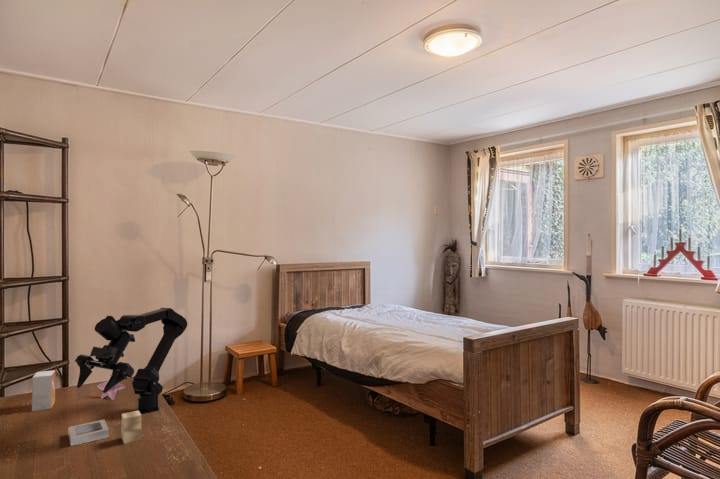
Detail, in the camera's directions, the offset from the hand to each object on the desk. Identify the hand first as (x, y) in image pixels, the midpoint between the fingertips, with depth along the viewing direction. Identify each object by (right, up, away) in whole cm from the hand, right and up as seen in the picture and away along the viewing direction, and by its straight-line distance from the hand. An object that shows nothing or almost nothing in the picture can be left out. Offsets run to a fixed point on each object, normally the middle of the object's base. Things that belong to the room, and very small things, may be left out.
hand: (90, 390), depth 144 cm
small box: (-35, -16, +28) cm, 48 cm away
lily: (-15, -16, +39) cm, 45 cm away
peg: (+14, -16, -1) cm, 21 cm away
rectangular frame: (-2, -16, +2) cm, 16 cm away
